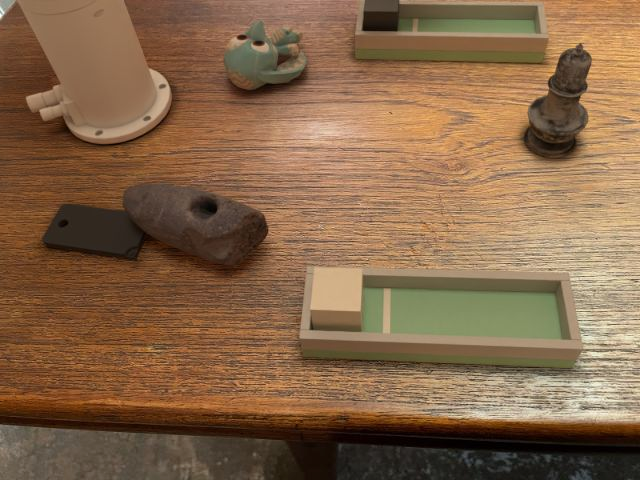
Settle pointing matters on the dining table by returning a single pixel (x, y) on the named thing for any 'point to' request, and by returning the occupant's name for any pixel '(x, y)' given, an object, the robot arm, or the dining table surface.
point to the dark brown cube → (381, 15)
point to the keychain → (95, 231)
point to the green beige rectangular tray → (459, 32)
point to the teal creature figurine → (263, 57)
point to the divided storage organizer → (455, 318)
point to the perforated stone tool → (196, 221)
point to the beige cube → (337, 299)
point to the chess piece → (560, 107)
